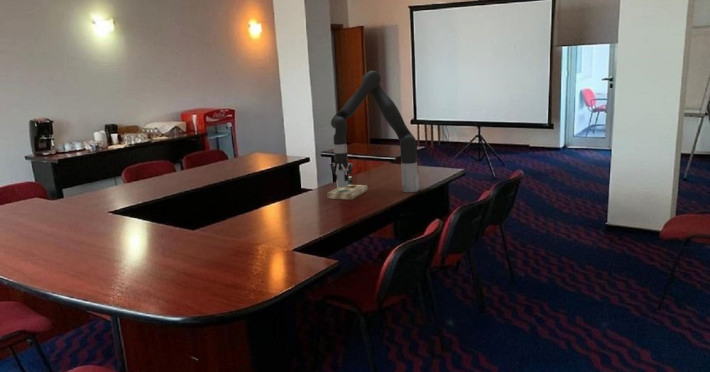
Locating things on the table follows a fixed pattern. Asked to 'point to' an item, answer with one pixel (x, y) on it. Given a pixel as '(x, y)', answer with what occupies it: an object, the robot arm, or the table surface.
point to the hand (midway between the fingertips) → (342, 180)
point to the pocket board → (347, 192)
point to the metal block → (341, 178)
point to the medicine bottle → (348, 181)
